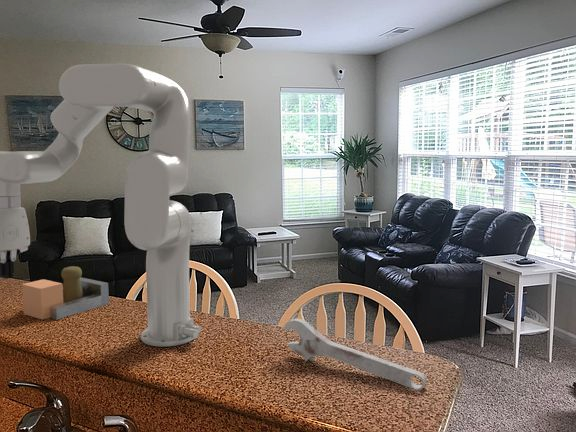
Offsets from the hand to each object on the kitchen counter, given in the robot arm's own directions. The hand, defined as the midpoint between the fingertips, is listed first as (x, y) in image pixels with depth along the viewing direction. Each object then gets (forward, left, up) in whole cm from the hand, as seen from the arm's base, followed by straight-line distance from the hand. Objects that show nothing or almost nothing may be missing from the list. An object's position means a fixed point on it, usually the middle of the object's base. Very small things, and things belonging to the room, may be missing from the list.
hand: (6, 277), depth 117 cm
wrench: (-83, -20, -12) cm, 86 cm away
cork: (-1, -17, -12) cm, 21 cm away
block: (-1, -9, -12) cm, 15 cm away
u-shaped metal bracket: (-1, -15, -12) cm, 19 cm away
